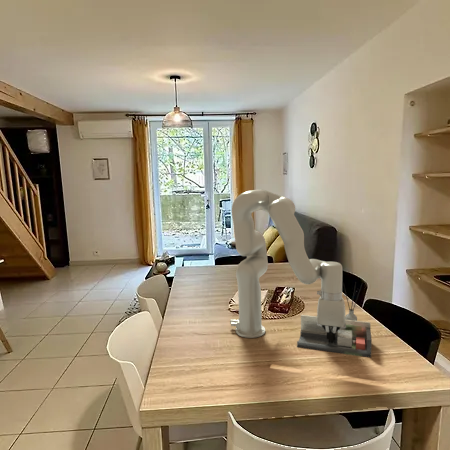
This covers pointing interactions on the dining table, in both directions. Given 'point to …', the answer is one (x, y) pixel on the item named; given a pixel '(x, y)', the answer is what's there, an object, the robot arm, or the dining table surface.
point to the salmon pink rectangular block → (360, 343)
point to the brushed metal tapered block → (345, 338)
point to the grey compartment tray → (317, 337)
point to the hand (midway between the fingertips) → (330, 341)
